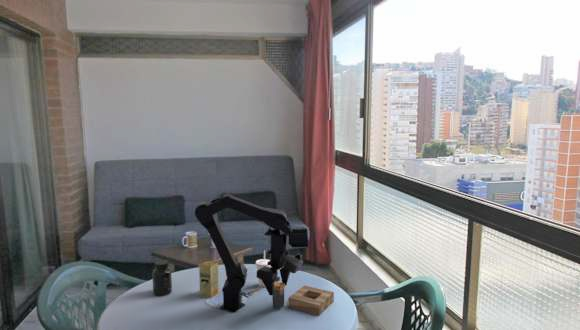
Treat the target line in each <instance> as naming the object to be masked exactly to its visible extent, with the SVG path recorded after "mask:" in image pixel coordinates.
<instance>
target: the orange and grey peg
mask: <svg viewBox="0 0 580 330" xmlns="http://www.w3.org/2000/svg"><path fill="white" fill-rule="evenodd" d="M285 287H286V286H285V283H282V281H281V282H280V281H276V282H275V283H274V289H273V295H272V297H271V298H272V299H271V300H272V309H275V310H279V311H281V310H282V309H283V308H285Z"/></svg>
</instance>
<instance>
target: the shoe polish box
mask: <svg viewBox="0 0 580 330" xmlns="http://www.w3.org/2000/svg"><path fill="white" fill-rule="evenodd" d="M198 269H199V271H198V273H199V276H198V277H199V296H201V297H203V298H204V297H206V298H210V299H211V298H213V297H214V296H216V295H218V293H219V262H218V261H213V260H205V261H203V262H202V263H199V265H198Z"/></svg>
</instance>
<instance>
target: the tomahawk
mask: <svg viewBox="0 0 580 330" xmlns="http://www.w3.org/2000/svg"><path fill="white" fill-rule="evenodd" d="M277 278H278V279H277V280H276V281H275V282H274V283H276V282H278V281H279V280H280V279H281V276H277ZM265 288H266V287H265V286H257V287H256V288H254V289H252V290H250V291H248V293H247V292H245V291H243V292H242V297H244V298H247V299H249V298H250V297H252V295H254V294H255V293H256V292H258V291H260V290H262V289H265ZM249 296H250V297H249Z"/></svg>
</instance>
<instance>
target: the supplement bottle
mask: <svg viewBox="0 0 580 330" xmlns="http://www.w3.org/2000/svg"><path fill="white" fill-rule="evenodd" d="M172 279H173V278H172V269H171V268H170V267H169V260H165V259H163V260H162V259H161V260H157V261H155V263H154V270H152V293H153V294H154V296H156V297H164V296H168V295H170V294H171V293H172V290H173V285H172V284H173V283H172V282H173V281H172Z"/></svg>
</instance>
